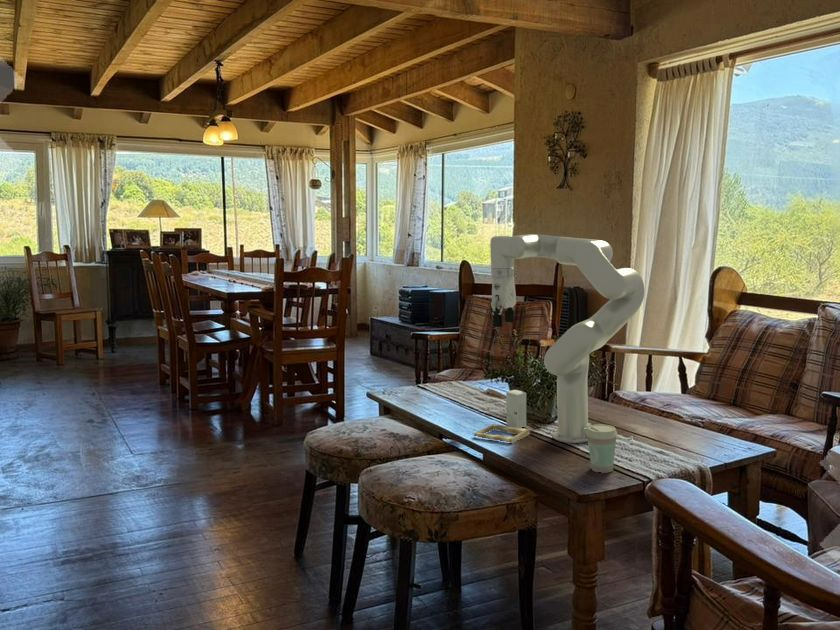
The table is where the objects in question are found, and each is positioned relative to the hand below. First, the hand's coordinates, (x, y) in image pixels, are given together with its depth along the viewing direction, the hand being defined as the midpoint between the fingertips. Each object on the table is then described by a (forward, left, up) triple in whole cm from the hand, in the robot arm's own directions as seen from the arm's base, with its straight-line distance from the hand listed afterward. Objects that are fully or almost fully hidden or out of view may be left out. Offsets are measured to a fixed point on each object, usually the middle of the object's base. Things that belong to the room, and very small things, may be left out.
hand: (504, 324), depth 242 cm
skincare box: (-2, -3, -36) cm, 36 cm away
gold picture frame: (-3, +9, -36) cm, 37 cm away
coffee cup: (-43, +23, -36) cm, 61 cm away
